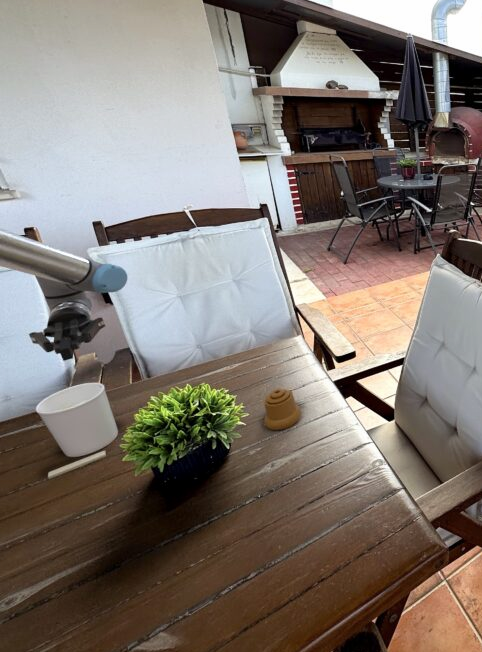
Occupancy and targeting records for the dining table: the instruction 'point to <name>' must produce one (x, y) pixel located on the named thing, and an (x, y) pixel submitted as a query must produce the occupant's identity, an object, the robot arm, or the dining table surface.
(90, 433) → the white tapered cylinder
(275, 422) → the ornamental finial
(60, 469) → the strip
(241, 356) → the dining table surface
